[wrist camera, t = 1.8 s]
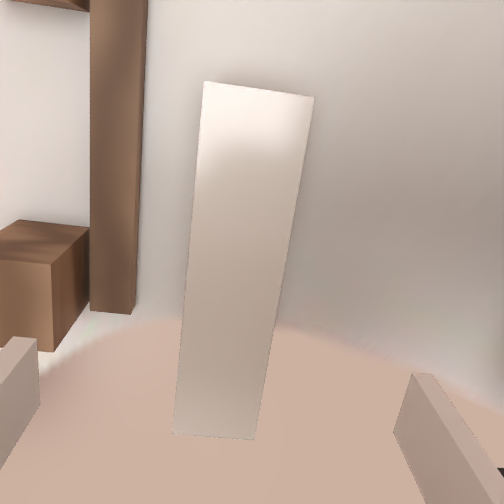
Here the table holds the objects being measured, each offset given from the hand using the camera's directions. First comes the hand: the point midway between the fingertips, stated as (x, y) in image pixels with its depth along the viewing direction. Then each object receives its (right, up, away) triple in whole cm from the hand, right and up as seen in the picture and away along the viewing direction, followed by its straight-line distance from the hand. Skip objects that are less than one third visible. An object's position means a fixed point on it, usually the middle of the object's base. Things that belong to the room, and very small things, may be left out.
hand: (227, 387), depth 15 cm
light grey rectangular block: (0, +6, +17) cm, 18 cm away
